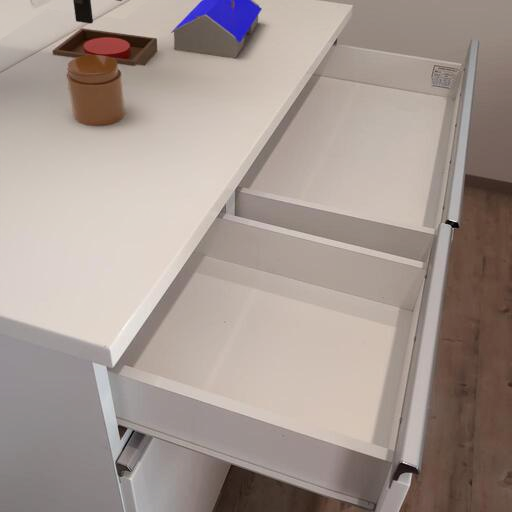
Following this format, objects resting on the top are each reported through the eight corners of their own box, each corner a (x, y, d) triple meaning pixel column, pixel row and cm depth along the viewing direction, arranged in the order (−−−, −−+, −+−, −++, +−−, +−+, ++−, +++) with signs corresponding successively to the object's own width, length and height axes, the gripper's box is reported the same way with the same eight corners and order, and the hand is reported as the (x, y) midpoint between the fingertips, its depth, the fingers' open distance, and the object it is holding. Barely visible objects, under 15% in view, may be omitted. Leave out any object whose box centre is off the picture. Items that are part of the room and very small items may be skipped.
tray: (54, 64, 99) (52, 50, 98) (83, 40, 109) (81, 28, 107) (135, 75, 98) (134, 62, 96) (157, 51, 107) (156, 38, 105)
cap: (137, 49, 106) (136, 40, 104) (120, 66, 99) (119, 56, 98) (96, 44, 106) (94, 35, 105) (77, 59, 100) (75, 50, 99)
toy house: (239, 58, 107) (240, 19, 102) (170, 48, 108) (169, 10, 103) (261, 23, 123) (263, -12, 118) (201, 15, 125) (201, -20, 120)
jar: (66, 132, 81) (55, 70, 75) (87, 110, 87) (78, 50, 81) (115, 140, 80) (107, 78, 74) (133, 117, 86) (127, 57, 80)
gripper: (73, -124, 74) (91, 36, 88) (137, -140, 93) (144, -6, 106) (21, -130, 74) (47, 29, 88) (95, -145, 93) (107, -12, 107)
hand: (100, 10), depth 97 cm, fingers open, 13 cm apart
